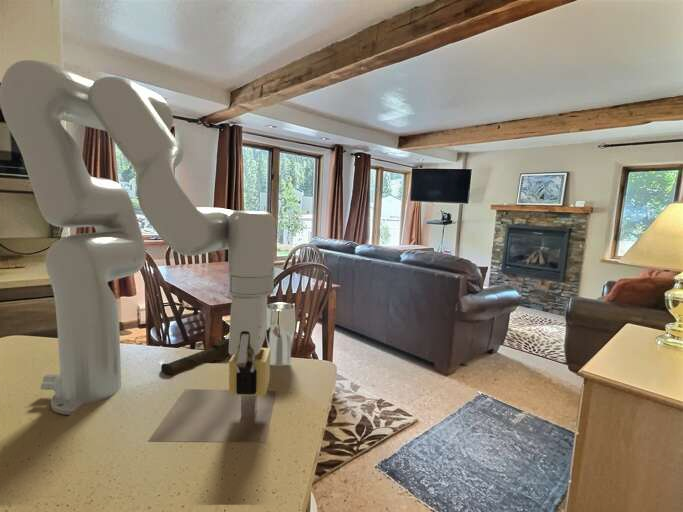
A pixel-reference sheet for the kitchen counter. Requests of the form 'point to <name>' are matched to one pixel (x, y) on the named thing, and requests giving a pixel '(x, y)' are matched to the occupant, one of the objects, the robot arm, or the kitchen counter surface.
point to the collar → (260, 365)
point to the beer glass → (280, 332)
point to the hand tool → (198, 358)
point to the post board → (216, 417)
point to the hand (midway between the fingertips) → (250, 382)
